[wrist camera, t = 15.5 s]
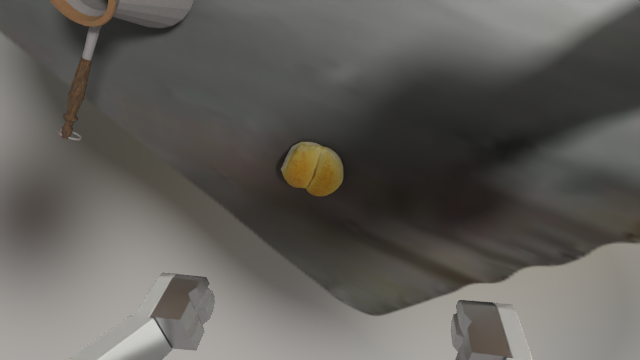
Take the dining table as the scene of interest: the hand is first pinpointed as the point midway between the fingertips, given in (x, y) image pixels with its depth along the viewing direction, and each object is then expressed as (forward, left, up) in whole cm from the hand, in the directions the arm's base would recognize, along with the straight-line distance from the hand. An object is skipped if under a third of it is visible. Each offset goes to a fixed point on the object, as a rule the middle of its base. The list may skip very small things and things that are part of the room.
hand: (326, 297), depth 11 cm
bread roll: (+7, +20, -36) cm, 41 cm away
